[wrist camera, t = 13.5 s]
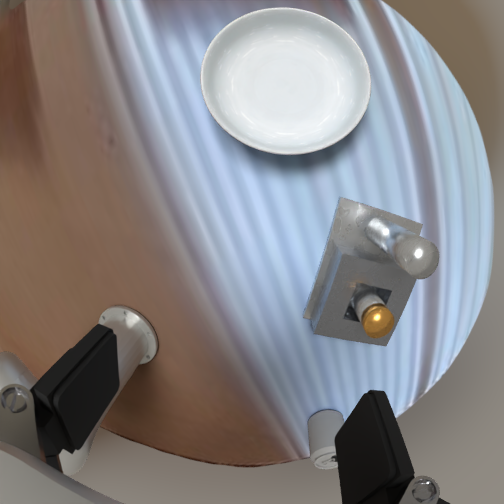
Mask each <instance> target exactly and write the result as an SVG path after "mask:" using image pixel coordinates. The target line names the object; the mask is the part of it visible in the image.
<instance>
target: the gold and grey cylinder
mask: <svg viewBox="0 0 504 504" xmlns="http://www.w3.org/2000/svg"><path fill="white" fill-rule="evenodd" d="M350 303H351V305H352V306H353V308H354V310H355V312H356V314H357V316H358V318H359V320H360V322H361V324H362V326H363V328H364V330H365V332H366V334H367V335H368V336H369V337H371V338H381V337H383V336H385V335H387V334H388V333H389V332H390V331H391V330H392V328H393V326H394V316H393V315H392V313H391V312H390V310H389V309H388V308H387V306H386V305H385V304H384V302H383V301H382V299H381V298H380V297H379V295H378V294H377V293H376V291H375V290H374V289H373V288H372V286H371V285H367V284H363V283H359V282H357V283H356V286H355V289H354V291H353V294H352V297H351V299H350Z"/></svg>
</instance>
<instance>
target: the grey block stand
mask: <svg viewBox="0 0 504 504" xmlns="http://www.w3.org/2000/svg"><path fill="white" fill-rule="evenodd" d="M422 225H423V224H420V223H418V222H415V221H412V220H410V219H407V218H404V217H401V216H398V215H395V214H393V213H390V212H387V211H384V210H381V209H378V208H375V207H372V206H368V205H365V204H362V203H359V202H356V201H353V200H349V199H346V198H343V197H339V200H338V204H337V207H336V211H335V214H334V218H333V221H332V225H331V228H330V232H329V235H328V239H327V242H326V245H325V249H324V252H323V255H322V258H321V262H320V265H319V268H318V271H317V274H316V277H315V280H314V283H313V286H312V289H311V292H310V295H309V298H308V301H307V304H306V307H305V310H304V313H303V318H306V319H311V322H312V327H313V332H314V334H318V335H323V336H328V337H334V338H339V339H345V340H350V341H356V342H362V343H368V344H374V345H381V346H387V344H388V342H389V340H390V338H391V336H392V334H393V332H394V330H395V328H396V325H397V323H398V321H399V319H400V317H401V315H402V313H403V310H404V308H405V306H406V303H407V301H408V299H409V296H410V294H411V292H412V289H413V287H414V284H415V282H416V279H425V278H427V277H429V276H430V275H431V274H432V273H433V272H434V271H435V270H436V268H437V266H438V262H439V252H438V249H437V247H436V246H435V245H434V244H433V243H432V242H430V241H428V240H426V239H424V238H422V237H421V236H419V235H420V232H421V229H422ZM357 282H359V283H363V284H367V285H371V286H372V288H373V289H374V290H375V291H376V293H377V294H378V295H379V297H380V298H381V299H382V301H383V302H384V304H385V305H386V306H387V308H388V309H389V310H390V312H391V313H392V315H393V316H394V326H393V328H392V330H391V331H390V332H389V333H388V334H387V335H385V336H383V337H381V338H371V337H369V336H368V335H367V334H366V332H365V330H364V328H363V326H362V324H361V322H360V320H359V318H358V316H357V314H356V312H355V310H354V308H353V306H352V305H351V303H350V299H351V297H352V294H353V291H354V289H355V286H356V283H357Z"/></svg>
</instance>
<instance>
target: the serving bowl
mask: <svg viewBox="0 0 504 504" xmlns="http://www.w3.org/2000/svg"><path fill="white" fill-rule="evenodd" d="M200 82H201V90H202V94H203V98H204V101H205V103H206V106H207V108H208V110H209V111H210V113H211V115H212V116H213V118H214V119H215V120H216V122H217V123H218V124H219V125H220V126H221V127H222V128H223V129H224V130H225V131H226V132H227V133H229V134H230V135H231V136H232V137H234V138H235V139H237V140H238V141H240V142H242V143H243V144H245V145H248V146H250V147H252V148H255V149H257V150H261V151H264V152H268V153H273V154H280V155H299V154H306V153H312V152H315V151H319V150H322V149H325V148H327V147H329V146H331V145H333V144H335V143H337V142H338V141H340V140H341V139H343V138H344V137H346V136H347V135H348V134H349V133H350V132H351V131H352V130H353V129H354V128H355V127H356V126H357V124H358V123H359V122H360V120H361V119H362V117H363V115H364V113H365V111H366V109H367V106H368V103H369V99H370V94H371V77H370V71H369V67H368V64H367V61H366V59H365V56H364V54H363V53H362V51H361V49H360V48H359V46H358V45H357V43H356V42H355V41H354V40H353V38H352V37H351V36H350V35H349V34H348V33H347V32H346V31H345V30H343V29H342V28H341V27H340V26H338V25H337V24H335V23H334V22H332V21H330V20H329V19H327V18H325V17H323V16H320V15H318V14H315V13H312V12H309V11H305V10H301V9H294V8H270V9H263V10H258V11H255V12H252V13H249V14H246V15H244V16H242V17H240V18H238V19H236V20H234V21H233V22H231V23H230V24H228V25H227V26H226V27H225V28H223V29H222V30H221V31H220V32H219V33H218V34H217V35H216V37H215V38H214V39H213V40H212V42H211V43H210V45H209V47H208V49H207V51H206V53H205V55H204V58H203V62H202V66H201V74H200Z"/></svg>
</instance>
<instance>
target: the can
mask: <svg viewBox="0 0 504 504" xmlns="http://www.w3.org/2000/svg"><path fill="white" fill-rule="evenodd" d="M343 424H344V419H343V416H342V414H341V413H339V412H338V411H334V410H323V411H320V412H317V413H316V414H314V415H313V416H312V417H311V418H310V419H309V421H308V432H309V446H310V459H311V461H312V462H313V463H314V465H315V466H316V467H317V468H320V469H331V468H335V467H338V463H337V456H336V449H335V442H334V440H335V436H336V434H337V432H338V431H339V430H340V428H341V427H342V425H343Z"/></svg>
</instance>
